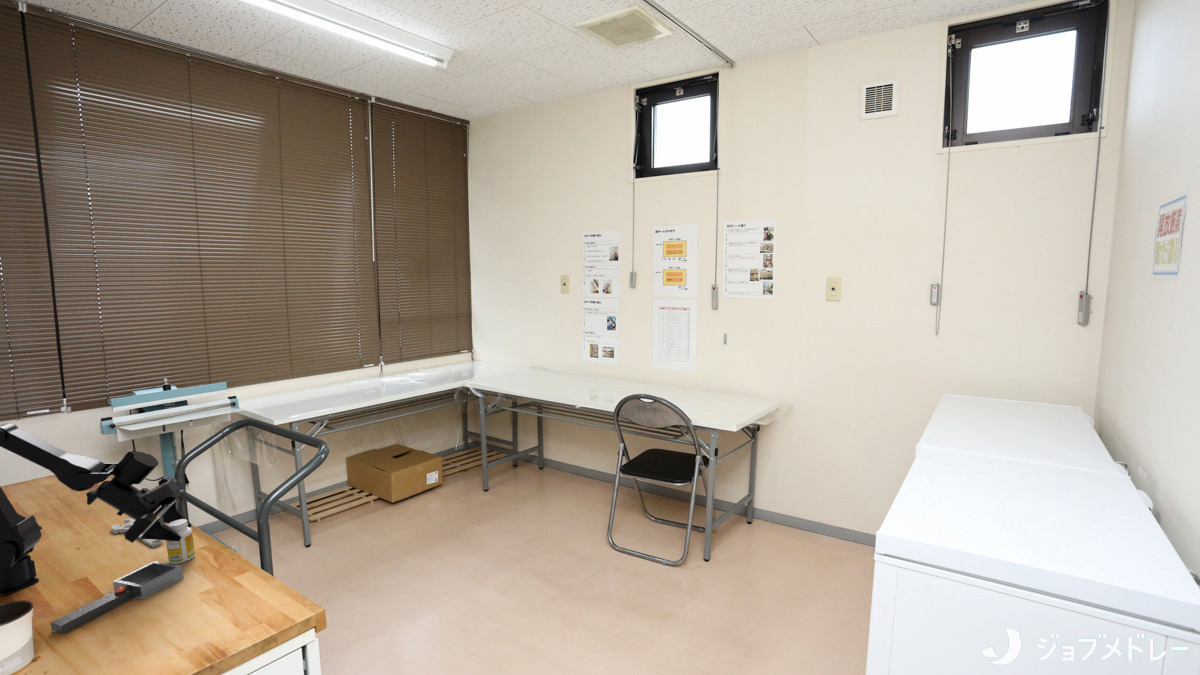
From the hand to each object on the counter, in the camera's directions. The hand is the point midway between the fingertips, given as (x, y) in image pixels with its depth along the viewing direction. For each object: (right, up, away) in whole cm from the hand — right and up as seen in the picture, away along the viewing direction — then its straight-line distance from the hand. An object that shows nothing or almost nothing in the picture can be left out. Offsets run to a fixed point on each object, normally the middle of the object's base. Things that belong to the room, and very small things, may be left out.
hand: (185, 533), depth 142 cm
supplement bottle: (-1, -7, 0) cm, 7 cm away
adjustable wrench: (-24, -6, +14) cm, 28 cm away
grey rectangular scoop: (-2, -9, -18) cm, 20 cm away
